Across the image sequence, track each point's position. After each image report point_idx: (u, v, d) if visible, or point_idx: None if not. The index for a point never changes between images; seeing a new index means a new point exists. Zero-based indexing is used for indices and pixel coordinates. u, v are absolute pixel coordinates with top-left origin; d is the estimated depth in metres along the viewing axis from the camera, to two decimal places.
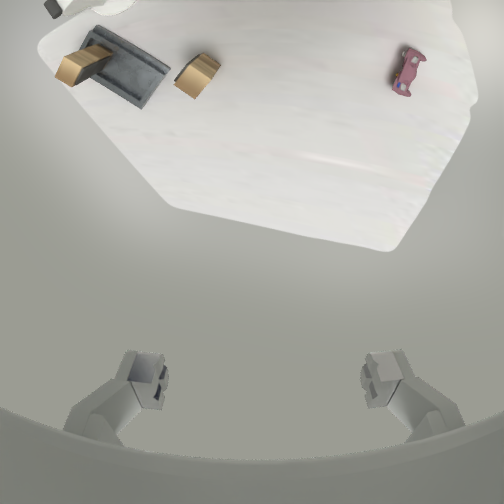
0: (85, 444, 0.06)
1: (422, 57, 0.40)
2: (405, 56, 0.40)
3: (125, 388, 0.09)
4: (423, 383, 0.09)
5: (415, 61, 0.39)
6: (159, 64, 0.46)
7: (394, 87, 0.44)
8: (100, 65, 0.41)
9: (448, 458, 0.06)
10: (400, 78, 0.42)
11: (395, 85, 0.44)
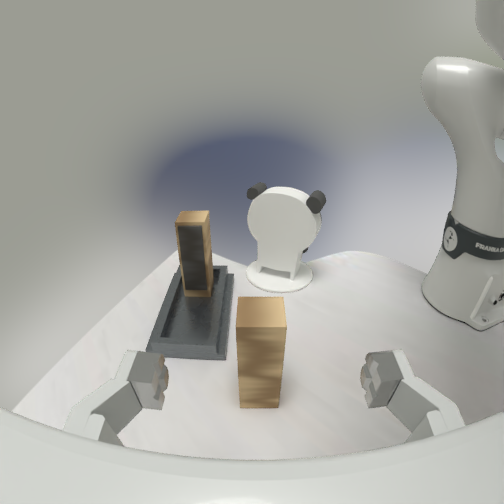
0: (85, 444, 0.06)
1: None
2: None
3: (125, 388, 0.09)
4: (423, 383, 0.09)
5: None
6: (224, 341, 0.37)
7: None
8: (196, 273, 0.43)
9: (448, 458, 0.06)
10: None
11: None
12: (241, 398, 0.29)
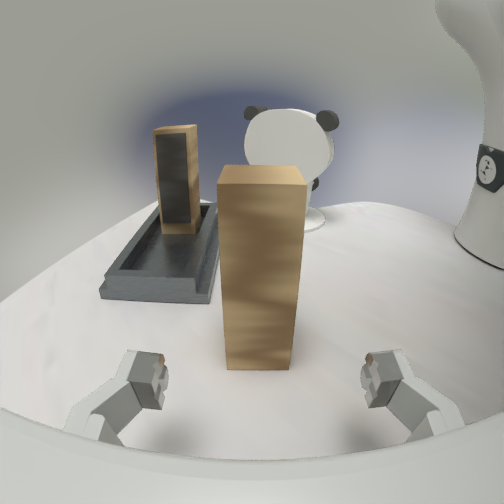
0: (85, 444, 0.06)
1: None
2: None
3: (125, 388, 0.09)
4: (423, 383, 0.09)
5: None
6: (208, 279, 0.27)
7: None
8: (177, 199, 0.33)
9: (448, 458, 0.06)
10: None
11: None
12: (228, 349, 0.18)
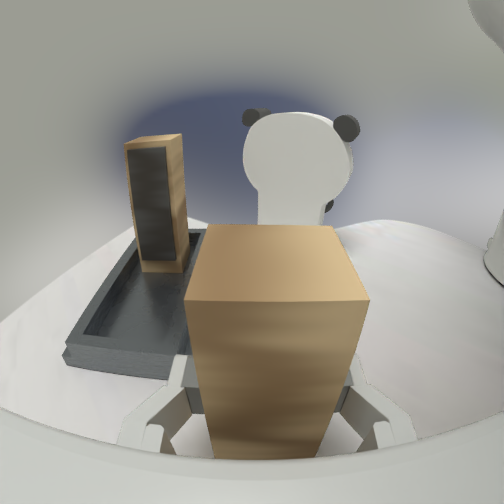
0: (85, 444, 0.06)
1: None
2: None
3: (180, 395, 0.09)
4: (375, 391, 0.09)
5: None
6: None
7: None
8: (157, 232, 0.26)
9: (448, 458, 0.06)
10: None
11: None
12: None
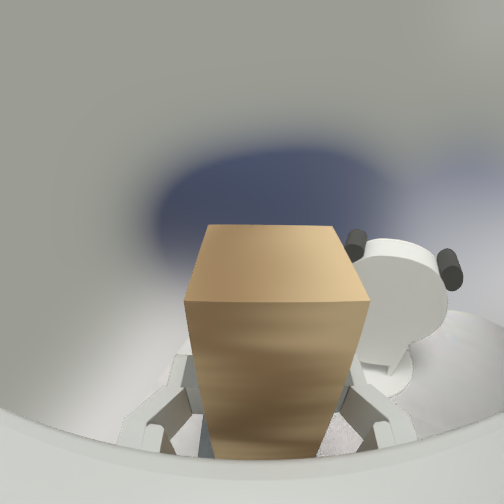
0: (85, 444, 0.06)
1: None
2: None
3: (180, 395, 0.09)
4: (375, 390, 0.09)
5: None
6: None
7: None
8: None
9: (448, 458, 0.06)
10: None
11: None
12: None
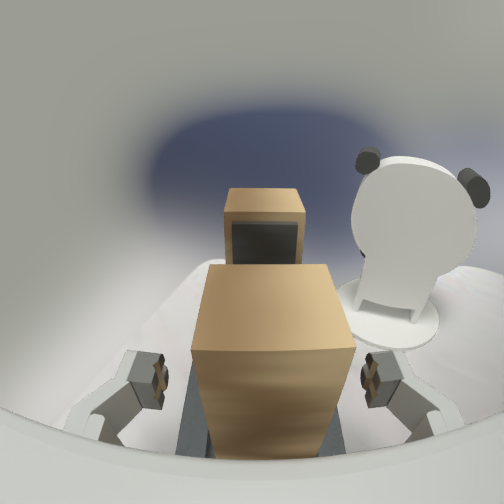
0: (85, 444, 0.06)
1: None
2: None
3: (125, 388, 0.09)
4: (423, 383, 0.09)
5: None
6: None
7: None
8: None
9: (448, 458, 0.06)
10: None
11: None
12: None
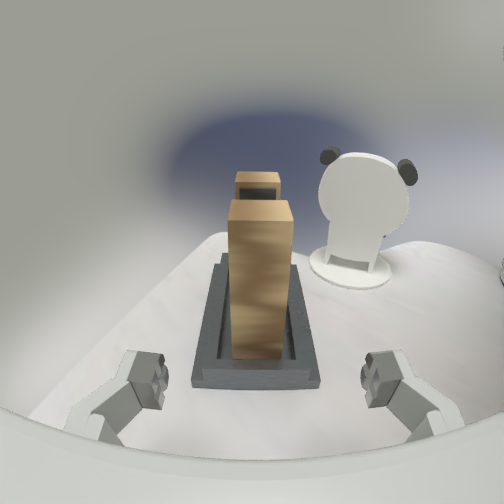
0: (85, 444, 0.06)
1: None
2: None
3: (125, 388, 0.09)
4: (423, 383, 0.09)
5: None
6: (314, 360, 0.24)
7: None
8: None
9: (448, 458, 0.06)
10: None
11: None
12: (234, 342, 0.23)
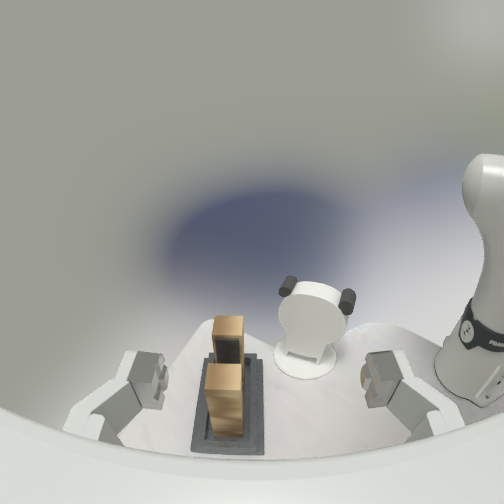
0: (85, 444, 0.06)
1: None
2: None
3: (125, 388, 0.09)
4: (423, 383, 0.09)
5: None
6: (262, 439, 0.37)
7: None
8: None
9: (448, 458, 0.06)
10: None
11: None
12: (214, 430, 0.36)
